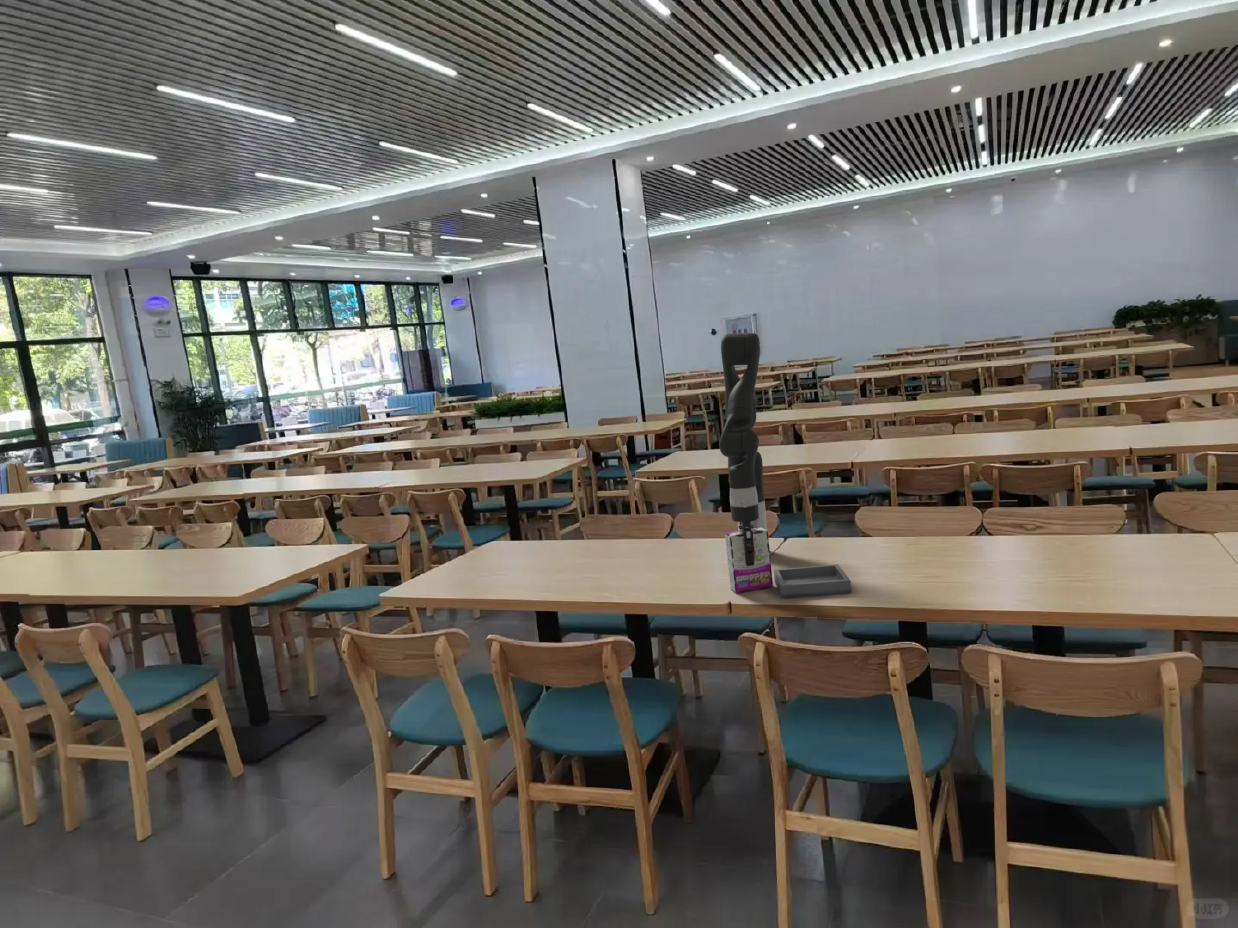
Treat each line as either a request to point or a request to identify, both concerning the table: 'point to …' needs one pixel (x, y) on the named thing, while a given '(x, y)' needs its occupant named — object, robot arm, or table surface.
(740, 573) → the candy bar box
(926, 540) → the table surface
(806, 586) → the tray
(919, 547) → the table surface
